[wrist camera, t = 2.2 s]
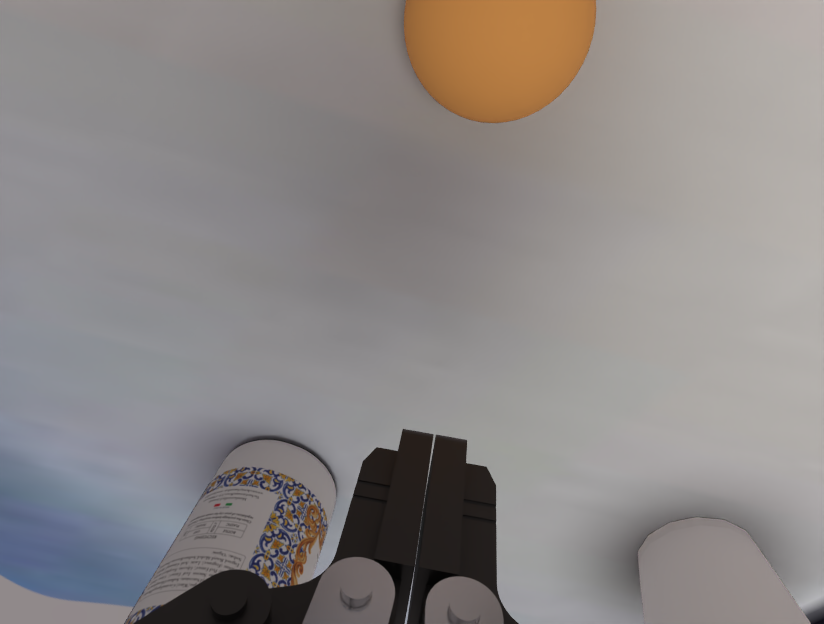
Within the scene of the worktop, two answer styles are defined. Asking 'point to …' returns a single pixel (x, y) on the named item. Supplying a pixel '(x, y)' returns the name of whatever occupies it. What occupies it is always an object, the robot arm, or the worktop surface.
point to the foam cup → (710, 577)
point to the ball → (497, 52)
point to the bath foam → (250, 523)
